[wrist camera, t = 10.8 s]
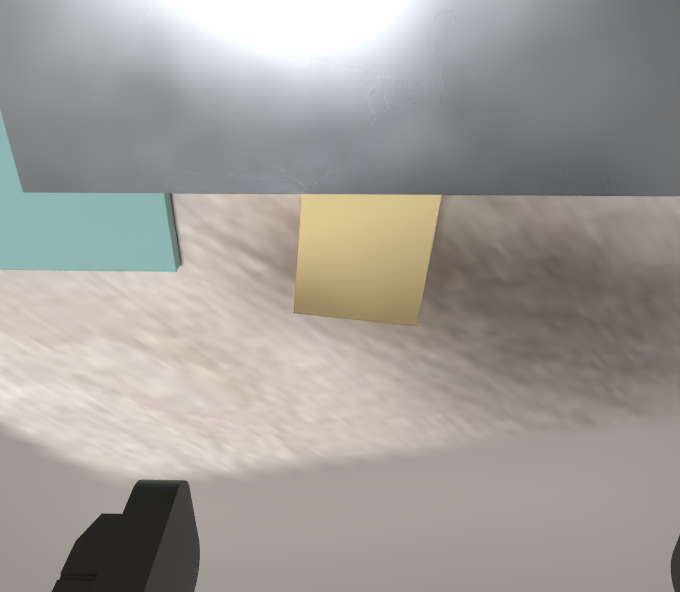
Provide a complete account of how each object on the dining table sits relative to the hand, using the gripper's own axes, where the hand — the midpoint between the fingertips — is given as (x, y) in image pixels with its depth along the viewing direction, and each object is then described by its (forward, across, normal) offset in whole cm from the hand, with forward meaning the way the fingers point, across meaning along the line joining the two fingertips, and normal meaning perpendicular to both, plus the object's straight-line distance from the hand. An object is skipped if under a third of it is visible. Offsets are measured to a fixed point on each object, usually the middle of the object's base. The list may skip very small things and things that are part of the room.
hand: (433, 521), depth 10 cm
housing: (+13, 0, -7) cm, 15 cm away
